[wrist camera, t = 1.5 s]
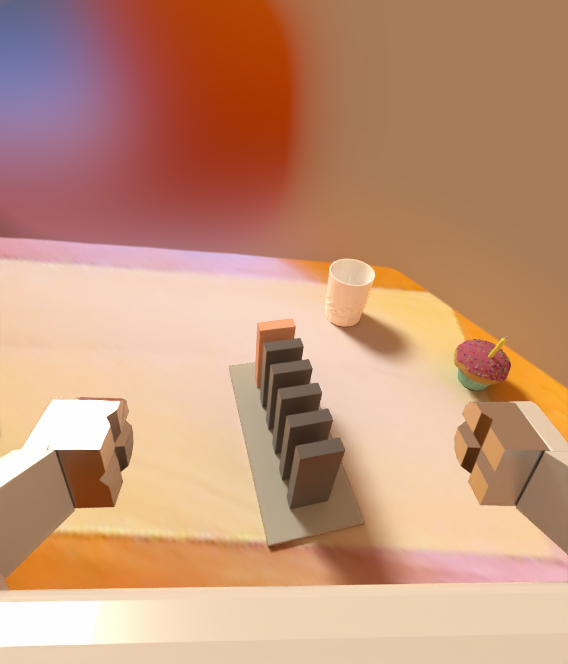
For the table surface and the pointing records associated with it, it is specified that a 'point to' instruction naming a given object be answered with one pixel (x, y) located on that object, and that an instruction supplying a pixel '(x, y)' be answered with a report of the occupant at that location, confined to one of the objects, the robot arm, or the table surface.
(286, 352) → the domino
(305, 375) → the domino
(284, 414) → the domino
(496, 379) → the cupcake
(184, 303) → the table surface
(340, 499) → the felt strip
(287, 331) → the domino
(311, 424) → the domino
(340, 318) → the white cup
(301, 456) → the domino
